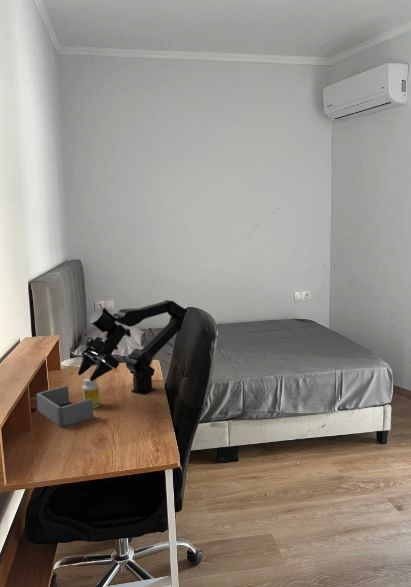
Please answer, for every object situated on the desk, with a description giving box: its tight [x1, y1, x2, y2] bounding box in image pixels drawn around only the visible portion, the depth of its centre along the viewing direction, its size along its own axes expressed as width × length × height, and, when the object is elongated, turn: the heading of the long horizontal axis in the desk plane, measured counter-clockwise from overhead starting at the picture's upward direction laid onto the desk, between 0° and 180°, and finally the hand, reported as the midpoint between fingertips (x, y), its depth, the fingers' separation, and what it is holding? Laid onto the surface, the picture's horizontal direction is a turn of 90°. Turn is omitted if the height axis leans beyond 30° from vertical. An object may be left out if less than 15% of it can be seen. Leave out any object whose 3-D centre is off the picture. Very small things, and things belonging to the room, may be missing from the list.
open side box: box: [35, 385, 94, 428], centre depth 161 cm, size 11×20×6 cm, turn 39°
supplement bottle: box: [81, 377, 101, 409], centre depth 167 cm, size 5×5×10 cm
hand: (84, 377), depth 165 cm, fingers open, 9 cm apart
